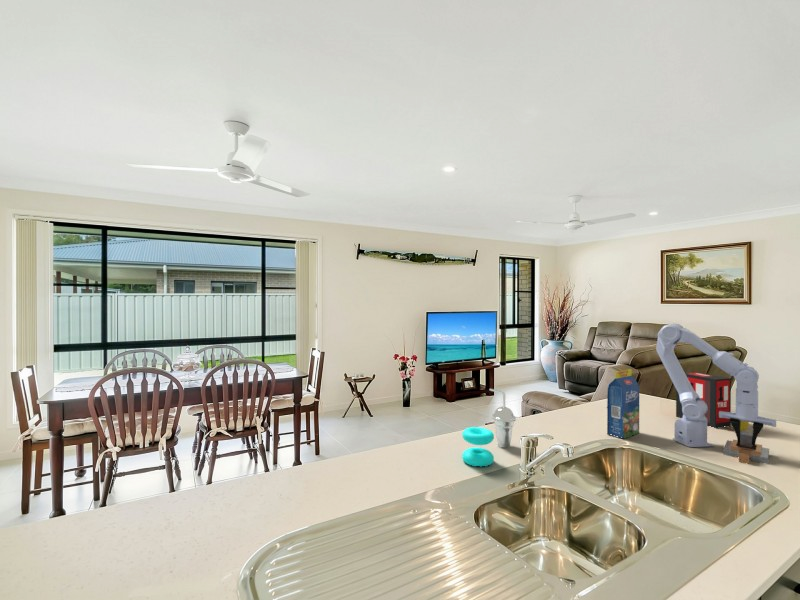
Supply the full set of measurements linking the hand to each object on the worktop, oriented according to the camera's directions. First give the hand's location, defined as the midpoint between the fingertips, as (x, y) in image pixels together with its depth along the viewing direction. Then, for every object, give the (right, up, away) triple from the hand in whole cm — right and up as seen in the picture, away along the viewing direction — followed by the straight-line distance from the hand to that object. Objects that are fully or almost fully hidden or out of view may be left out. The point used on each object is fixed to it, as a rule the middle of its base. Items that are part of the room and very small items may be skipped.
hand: (746, 442), depth 133 cm
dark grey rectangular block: (0, -4, 0) cm, 4 cm away
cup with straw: (-81, -4, +7) cm, 81 cm away
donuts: (-93, -4, -7) cm, 93 cm away
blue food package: (-31, -4, +19) cm, 37 cm away
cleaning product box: (+13, -4, +36) cm, 39 cm away
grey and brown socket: (-2, -4, -2) cm, 4 cm away
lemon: (+17, -4, +22) cm, 29 cm away
